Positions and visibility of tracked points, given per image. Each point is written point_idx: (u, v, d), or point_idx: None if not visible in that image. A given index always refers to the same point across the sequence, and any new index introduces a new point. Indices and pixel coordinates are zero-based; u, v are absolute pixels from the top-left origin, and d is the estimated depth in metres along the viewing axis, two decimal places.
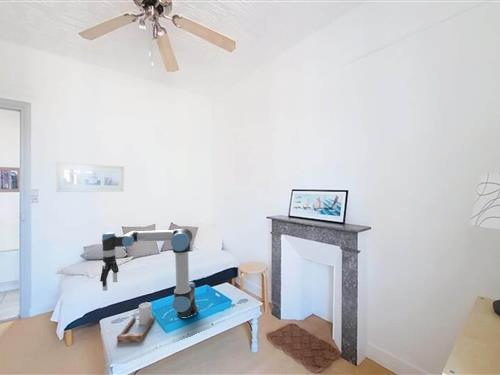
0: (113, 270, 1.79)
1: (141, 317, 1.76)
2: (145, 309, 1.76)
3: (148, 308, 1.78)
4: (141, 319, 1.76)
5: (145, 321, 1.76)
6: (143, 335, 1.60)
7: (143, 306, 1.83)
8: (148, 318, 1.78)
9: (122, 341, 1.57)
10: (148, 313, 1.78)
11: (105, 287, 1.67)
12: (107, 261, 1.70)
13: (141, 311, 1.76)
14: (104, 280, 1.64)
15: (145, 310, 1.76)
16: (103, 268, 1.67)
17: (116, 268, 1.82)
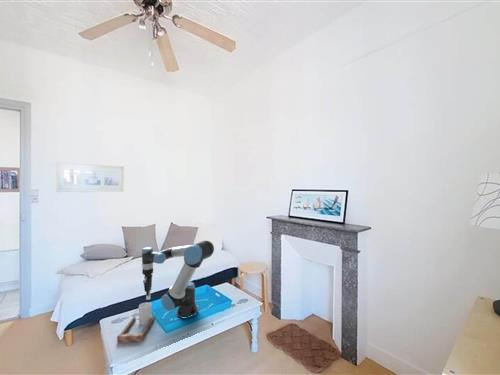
0: None
1: (141, 317, 1.76)
2: (145, 309, 1.76)
3: (148, 308, 1.78)
4: (141, 319, 1.76)
5: (145, 321, 1.76)
6: (143, 335, 1.60)
7: (143, 306, 1.83)
8: (148, 318, 1.78)
9: (122, 341, 1.57)
10: (148, 313, 1.78)
11: (148, 296, 1.90)
12: (146, 273, 1.87)
13: (141, 311, 1.76)
14: (148, 290, 1.88)
15: (145, 310, 1.76)
16: (144, 282, 1.85)
17: None
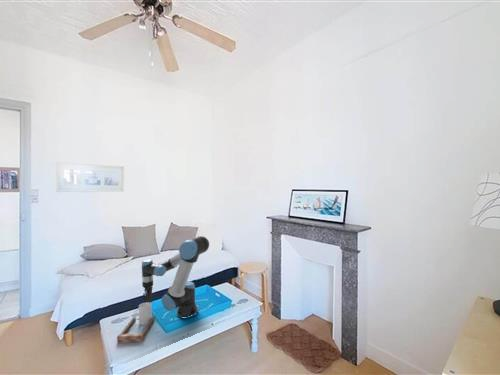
0: None
1: (141, 317, 1.76)
2: (145, 309, 1.76)
3: (148, 308, 1.78)
4: (141, 319, 1.76)
5: (145, 321, 1.76)
6: (143, 335, 1.60)
7: (143, 306, 1.83)
8: (148, 318, 1.78)
9: (122, 341, 1.57)
10: (148, 313, 1.78)
11: None
12: (146, 286, 1.86)
13: (141, 311, 1.76)
14: None
15: (145, 310, 1.76)
16: (144, 295, 1.84)
17: None
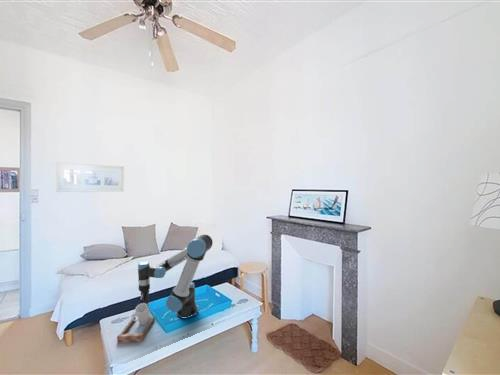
0: None
1: (139, 319, 1.74)
2: (142, 313, 1.72)
3: (145, 311, 1.73)
4: (140, 321, 1.75)
5: (144, 322, 1.75)
6: (143, 335, 1.60)
7: (140, 307, 1.78)
8: (147, 319, 1.76)
9: (122, 341, 1.57)
10: (146, 315, 1.75)
11: None
12: (143, 290, 1.79)
13: (138, 315, 1.72)
14: None
15: (142, 314, 1.72)
16: (140, 299, 1.78)
17: None
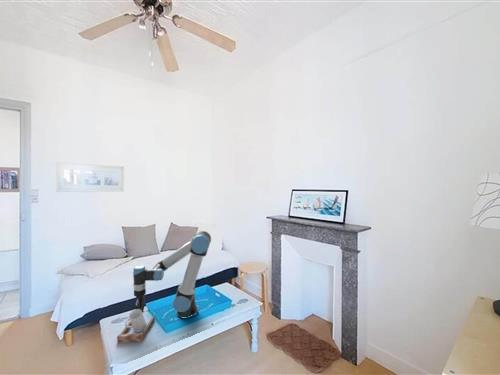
0: None
1: (133, 326, 1.66)
2: (135, 320, 1.64)
3: (139, 318, 1.65)
4: (134, 328, 1.67)
5: (139, 329, 1.67)
6: (143, 335, 1.60)
7: (134, 313, 1.70)
8: (141, 326, 1.68)
9: (122, 341, 1.57)
10: (140, 322, 1.66)
11: None
12: (138, 295, 1.71)
13: (132, 322, 1.64)
14: None
15: (136, 321, 1.64)
16: (136, 305, 1.70)
17: None
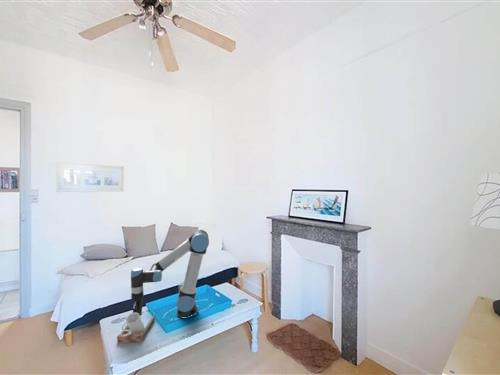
0: None
1: (131, 330, 1.62)
2: (133, 324, 1.59)
3: (136, 322, 1.60)
4: (131, 331, 1.63)
5: (136, 333, 1.63)
6: (143, 335, 1.60)
7: (132, 316, 1.66)
8: (139, 329, 1.63)
9: (122, 341, 1.57)
10: (137, 326, 1.62)
11: None
12: (136, 298, 1.67)
13: (129, 325, 1.60)
14: None
15: (133, 324, 1.60)
16: (133, 308, 1.66)
17: None
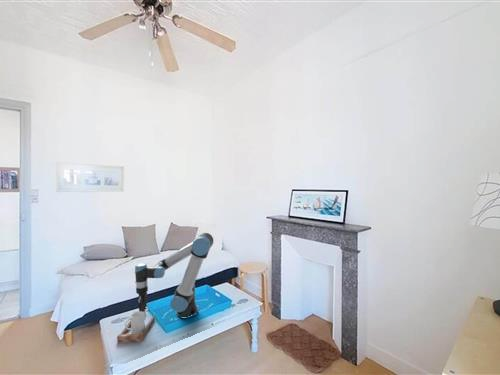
0: None
1: (133, 327, 1.64)
2: (137, 319, 1.64)
3: (140, 318, 1.65)
4: (132, 330, 1.64)
5: (137, 332, 1.64)
6: (143, 335, 1.60)
7: (136, 315, 1.70)
8: (140, 329, 1.65)
9: (122, 341, 1.57)
10: (140, 323, 1.65)
11: None
12: (140, 292, 1.74)
13: (133, 321, 1.64)
14: (143, 310, 1.75)
15: (137, 320, 1.64)
16: (138, 302, 1.72)
17: None
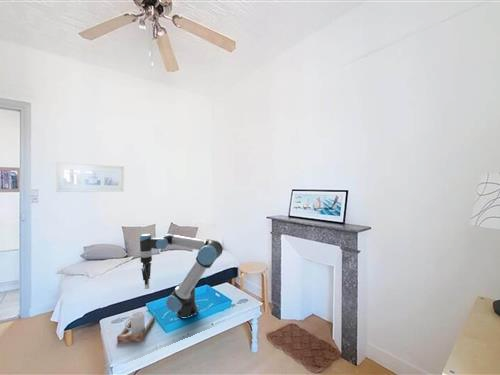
0: None
1: (133, 327, 1.64)
2: (137, 319, 1.64)
3: (140, 318, 1.65)
4: (132, 330, 1.64)
5: (137, 332, 1.64)
6: (143, 335, 1.60)
7: (136, 315, 1.70)
8: (140, 329, 1.65)
9: (122, 341, 1.57)
10: (140, 323, 1.65)
11: (147, 285, 1.82)
12: (145, 261, 1.78)
13: (133, 321, 1.64)
14: (147, 279, 1.79)
15: (137, 320, 1.64)
16: (142, 271, 1.77)
17: None
